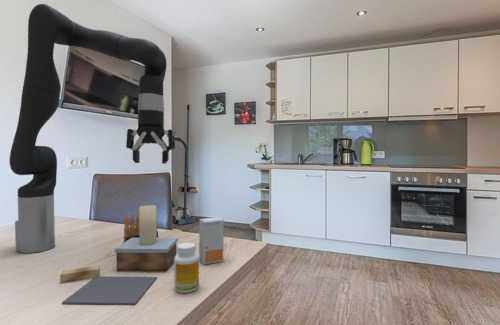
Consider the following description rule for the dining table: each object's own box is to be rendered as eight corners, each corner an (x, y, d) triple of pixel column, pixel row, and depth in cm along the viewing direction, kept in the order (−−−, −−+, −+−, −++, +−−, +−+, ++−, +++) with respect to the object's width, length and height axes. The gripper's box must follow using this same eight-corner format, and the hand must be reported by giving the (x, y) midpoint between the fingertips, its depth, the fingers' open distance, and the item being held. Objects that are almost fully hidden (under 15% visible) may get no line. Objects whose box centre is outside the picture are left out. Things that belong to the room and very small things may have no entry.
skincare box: (203, 265, 75) (203, 221, 75) (199, 260, 79) (198, 218, 79) (224, 261, 78) (224, 219, 78) (218, 256, 82) (218, 216, 81)
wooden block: (60, 284, 65) (60, 274, 65) (62, 280, 67) (62, 270, 67) (99, 278, 68) (98, 268, 68) (100, 274, 70) (99, 265, 70)
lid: (114, 252, 71) (114, 210, 71) (131, 240, 81) (131, 203, 81) (167, 252, 71) (166, 210, 71) (177, 241, 80) (177, 203, 80)
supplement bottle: (202, 289, 62) (202, 246, 62) (179, 296, 59) (178, 251, 59) (193, 280, 66) (193, 240, 66) (171, 286, 63) (171, 244, 63)
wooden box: (116, 271, 72) (116, 252, 71) (132, 258, 81) (132, 241, 80) (166, 271, 71) (166, 252, 71) (176, 258, 80) (176, 241, 80)
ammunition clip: (125, 254, 84) (124, 215, 84) (123, 252, 85) (122, 214, 85) (158, 246, 91) (158, 210, 91) (156, 245, 92) (156, 209, 92)
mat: (61, 304, 56) (61, 302, 56) (96, 277, 68) (96, 276, 68) (135, 305, 55) (135, 303, 55) (156, 278, 67) (156, 276, 67)
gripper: (122, 108, 81) (122, 163, 81) (170, 108, 81) (169, 163, 81) (133, 112, 89) (133, 162, 89) (177, 112, 88) (177, 163, 89)
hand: (150, 163), depth 85 cm, fingers open, 8 cm apart
